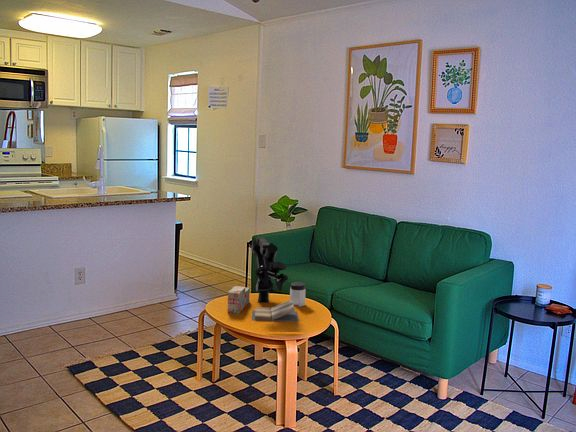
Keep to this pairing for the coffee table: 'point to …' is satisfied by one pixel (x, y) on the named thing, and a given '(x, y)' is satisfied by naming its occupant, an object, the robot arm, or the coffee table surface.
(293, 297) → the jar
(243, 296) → the stack of blocks
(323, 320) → the coffee table surface
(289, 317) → the underlay mat
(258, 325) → the coffee table surface
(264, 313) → the oak board
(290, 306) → the ash plank
